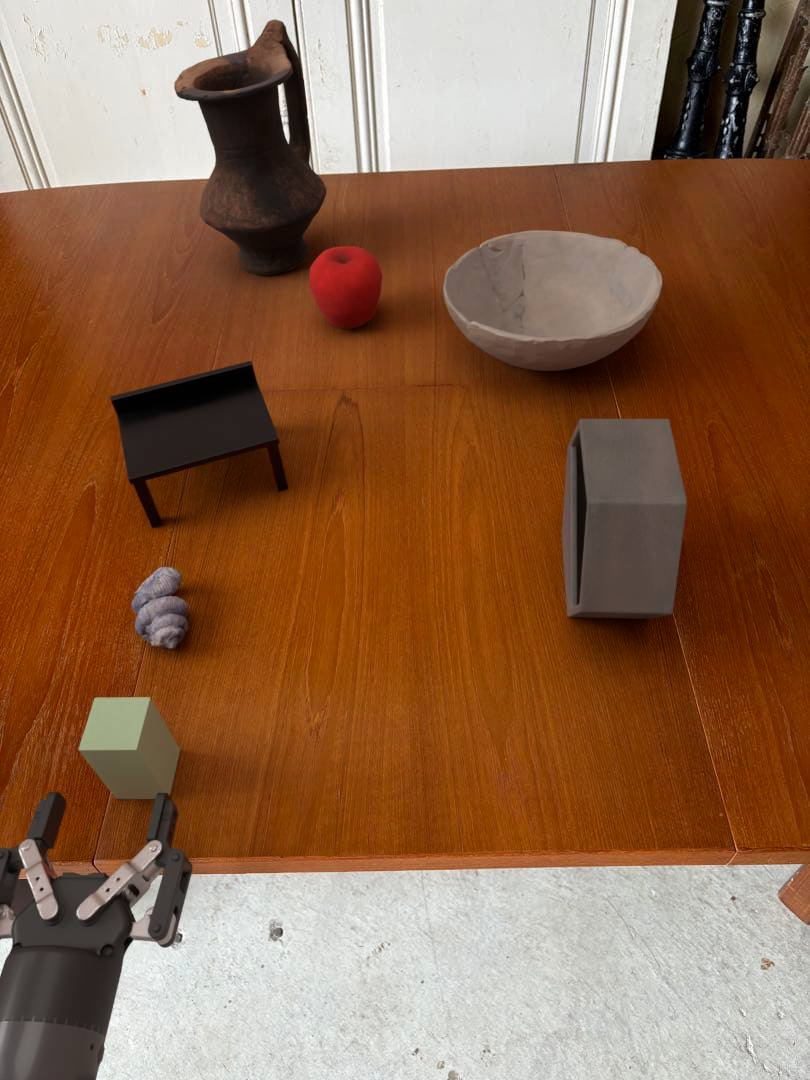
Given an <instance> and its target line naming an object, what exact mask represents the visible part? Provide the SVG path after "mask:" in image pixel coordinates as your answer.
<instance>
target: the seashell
mask: <svg viewBox="0 0 810 1080" xmlns="http://www.w3.org/2000/svg"><path fill="white" fill-rule="evenodd" d="M182 582H183V575H182V573H181V572H180V571H179V570H177V569H176V568H175V567H173V566H172V567H171V566H161V567H158V568H157V569H155V571H153V573H152V574H151V575H150V576H149V577H147V578H146V579H145V580H144V581H143V582H141V584H140V586H139V587H138V588H137V590H136V591H135V592H133V594H134V597H133V599H132V601H131V609H132V611H133V613H134V614H136V618H135V622H134V629H135V631H136V632H137V634H138V636H140V637H141V638H142V639H144V640H145V641H146V642H148V643H149V644H151V647H159V648H164V649H169V650H172V649H176V647H177V644H179V643H180V642H181V641H183V639H184V637H185V634H186V632H187V631H188V630H189V623H188V620H187V618H188V616H189V609H190V607H189V604H188V603H187V602H186V601H185V600H184V599H183V598H182V597H181V598H180V597H178V596H177V595H175V596H174V595H173V594H175V593H176V592H177V591H178V590H179V587H180V586H181V583H182Z"/></svg>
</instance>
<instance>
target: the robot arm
mask: <svg viewBox="0 0 810 1080" xmlns="http://www.w3.org/2000/svg"><path fill="white" fill-rule="evenodd" d="M67 804H68V801H67V798H65V797H64V796H63V794H62V793H61V792H60V791H49V792H47V794H46V797H45V798H42V799H41V800H40V801H39V802H38V804H37V806H36V807H35V811H34V814H33V817H32V819H31V822H30V826H29V828H28V832H27V834H26V837H25V839H24V840H23V841H22V842H21V843H20V844H18V845H15V846H11V847H10V848H9V847H8V848H7V847H3V846H1V847H0V941H1V940H6V939H7V940H8V939H9V940H10V939H12V940H11V941H12V943H11V949H10V951H9V953H8V955H7V956H6V958H5V959H4V963H3V966H2V970H1V972H0V1080H97V1078H98V1077H97V1076H98V1072H99V1069H100V1065H101V1063H102V1062H103V1059H104V1056H105V1048H106V1047H105V1043H106V1040H107V1035H108V1030H109V1027H110V1021H111V1017H112V1013H113V1009H114V1005H115V1001H116V996H117V992H118V989H119V988H118V987H119V983H120V980H121V975H122V971H123V964H124V958H125V955H126V952H127V950H128V949H129V947H130V946H131V944H132V943H133V942H134V941H140V942H141V941H142V942H151V943H152V942H154V943H156V944H157V945H158V946H159V947H161V948H163V949H166V948H169V947H171V946H172V945H173V944H174V942H175V940H176V936H177V932H178V929H179V924H180V920H181V917H182V912H183V908H184V905H185V902H186V897H187V893H188V890H189V886H190V881H191V878H192V874H193V871H194V866H193V863H192V861H190V860H189V858H188V857H187V855H186V854H185V852H184V851H183V850H181V849H180V848H173V841H174V838H175V837H174V836H175V832H176V827H177V823H178V819H179V809H178V806H177V805H176V804H175V802H174V801H173V799H172V797H171V795H170V796H169V794H168V793H157V795H156V798H155V799H154V803H153V807H152V810H151V815H150V819H149V824H148V828H147V833H146V837H145V840H146V841H147V842H148V843H147V844H146V845H144V847H143V848H142V849H140V851H139V852H138V853H137V854H136V855H135V856H134V857H133V858H131V860H130V861H125V862H124V863H122V864H121V865H120V866H119V867H118V869H116V870H115V872H113V874H111V875H108V873H106V872H91V873H87V874H80V873H77V872H72V871H70V872H69V871H67V872H66V871H65V872H64V871H63V872H62V875H60V876H58V874H57V873H56V871H55V869H54V866H53V864H52V861H51V859H50V857H49V855H48V851H49V850H54V847H55V844H56V840H57V838H58V834H59V831H60V829H61V825H62V822H63V818H64V815H65V812H66V809H67ZM24 869H25V871H24V874H25V877H26V879H27V882H28V884H29V887H30V890H31V892H32V895H33V899H32V900H31V901H30V902H29V903H28V904H27V905H26V906H25V907H24V908H23V909H22V910H21V912H19V913H18V914H17V916H16V917H15V911H14V910H13V909H12V905H13V901H14V897H15V893H16V889H17V886H18V883H19V880H20V879H19V878H20V875H21V873H22V870H24ZM160 874H162V876H161V880H160V883H159V888H158V890H157V893H156V898H155V902H154V904H153V906H150V907H149V908H147V910H145V913H144V915H143V916H142V917H141V919H139V920H138V921H137V920H136V918H135V916H134V914H133V911H132V908H133V907H134V906H135V905H136V904H137V903H138V902H139V901H140V900H141V899H142V898H143V897H144V896H145V895H146V894H147V892H149V890H150V888H151V884H152V883H153V882H154V881H155V880H156V879H157V878H158V876H160Z"/></svg>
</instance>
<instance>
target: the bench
mask: <svg viewBox="0 0 810 1080" xmlns="http://www.w3.org/2000/svg"><path fill="white" fill-rule="evenodd" d="M109 399H110V402H111V404H112V407H113V409H114V411H115V414H116V419H117V425H118V430H119V434H120V439H121V447H122V452H123V457H124V464H125V469H126V475H127V481H128V482H129V485H131V486H132V485H133V488H134V490H135V493H136V495H137V497H138V499H139V502H140V504H141V506H142V508H143V511H144V513H145V515H146V518H147V520H148V522H149V524H150V527H151V528H152V529H154V528H158V527H160V526H163V524H164V523H163V520H162V519H163V518H162V516H161V514H160V511H159V509H158V507H157V504H156V502H155V499H154V497H153V494H152V492H151V490H150V487H149V485H148V482H147V481H150V480H154V479H157V478H161V477H164V476H168V475H172V474H175V473H179V472H183V471H186V470H189V469H194V468H196V467H200V466H205V465H207V464H211V463H215V462H218V461H222V460H225V459H229V458H233V457H237V456H240V455H245V454H248V453H251V452H255V451H258V450H259V451H260V450H262V449H266V450H267V451H266V452H267V454H268V455H267V456H268V458H269V459H268V460H269V464H270V466H271V471H272V474H273V478H274V482H275V486H276V488H277V491H278V492H284V491H286V490H289V484H288V480H287V476H286V472H285V467H284V464H283V459H282V455H281V451H280V446H279V445H280V444H281V442H280V438H279V435H278V432H277V430H276V427H275V425H274V422H273V420H272V417H271V414H270V411H269V409H268V406H267V404H266V401H265V398H264V395H263V394H262V391H261V388H260V385H259V383H258V380H257V378H256V372H255V369H254V365H253V362H252V360H248V361H244V362H240V363H236V364H232V365H228V366H224V367H220V368H216V369H212V370H208V371H205V372H200V373H197V374H193V375H188V376H185V377H180V378H177V379H173V380H170V381H165V382H162V383H158V384H153V385H150V386H146V387H141V388H138V389H134V390H131V391H125V392H123V393H118V394H113V395H111V396H110V397H109Z"/></svg>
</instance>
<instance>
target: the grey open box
mask: <svg viewBox="0 0 810 1080" xmlns="http://www.w3.org/2000/svg"><path fill="white" fill-rule="evenodd" d="M564 478H565V480H564V494H563V509H562V510H563V511H562V524H561V525H562V526H561V549H562V562H563V574H564V576H563V577H564V588H565V590H564V591H565V599H566V600H565V602H566V615H567V617H568V618H586V619H587V618H591V619H592V618H594V619H632V620H633V619H634V620H635V619H637V620H649V619H655V618H660V617H665V616H671V615H673V614H674V606H675V598H676V591H677V585H678V576H679V570H680V561H681V554H682V547H683V538H684V531H685V523H686V516H687V508H688V501H687V495H686V490H685V486H684V482H683V476H682V473H681V468H680V464H679V458H678V453H677V449H676V445H675V440H674V435H673V431H672V425H671V421H670V419H669V418H580V419H579V420H578V422H577V424H576V426H575V429H574V431H573V433H572V436H571V438H570V440H569V443H568V444H567V447H566V463H565V477H564Z"/></svg>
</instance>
